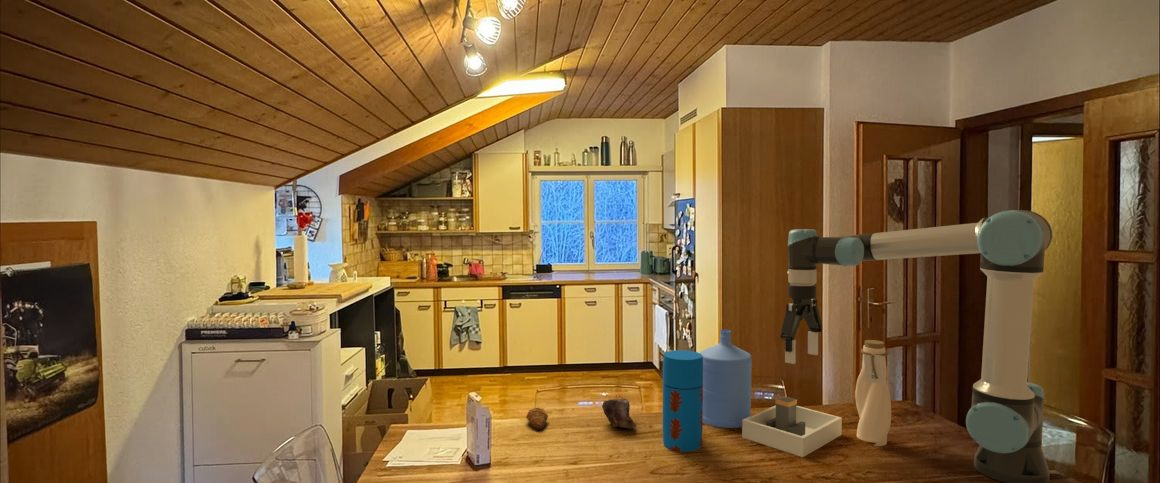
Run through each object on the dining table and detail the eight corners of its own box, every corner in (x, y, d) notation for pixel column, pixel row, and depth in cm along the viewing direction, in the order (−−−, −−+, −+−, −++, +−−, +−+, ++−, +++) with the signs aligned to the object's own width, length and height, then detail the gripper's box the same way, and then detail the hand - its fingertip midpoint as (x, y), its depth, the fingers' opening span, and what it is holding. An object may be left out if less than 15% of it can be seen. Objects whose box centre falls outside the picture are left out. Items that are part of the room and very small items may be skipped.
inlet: (805, 434, 172) (805, 422, 172) (791, 441, 167) (791, 429, 167) (779, 426, 178) (780, 415, 178) (765, 433, 173) (765, 421, 172)
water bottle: (895, 450, 163) (899, 347, 161) (859, 447, 165) (862, 346, 163) (884, 435, 173) (887, 339, 171) (850, 433, 175) (853, 337, 173)
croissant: (524, 416, 191) (524, 400, 190) (546, 415, 192) (546, 399, 191) (527, 432, 177) (527, 415, 177) (550, 431, 178) (550, 414, 178)
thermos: (656, 447, 166) (657, 357, 164) (670, 433, 176) (670, 348, 174) (695, 454, 161) (696, 361, 159) (707, 440, 170) (707, 352, 169)
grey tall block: (796, 434, 172) (797, 399, 171) (788, 438, 169) (789, 403, 169) (782, 430, 175) (783, 396, 175) (774, 433, 173) (775, 399, 172)
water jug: (761, 428, 180) (762, 334, 178) (713, 433, 176) (714, 338, 174) (734, 410, 195) (735, 324, 193) (689, 415, 191) (690, 327, 189)
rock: (633, 423, 188) (601, 422, 188) (634, 394, 188) (601, 394, 188) (637, 431, 176) (602, 430, 176) (637, 401, 177) (602, 400, 177)
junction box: (841, 438, 172) (841, 417, 171) (802, 460, 157) (803, 438, 157) (782, 421, 185) (783, 402, 185) (742, 440, 170) (742, 419, 170)
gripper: (809, 278, 183) (809, 348, 184) (767, 287, 165) (767, 364, 167) (834, 280, 177) (834, 352, 178) (793, 289, 160) (793, 369, 161)
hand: (801, 358), depth 172 cm, fingers open, 13 cm apart
